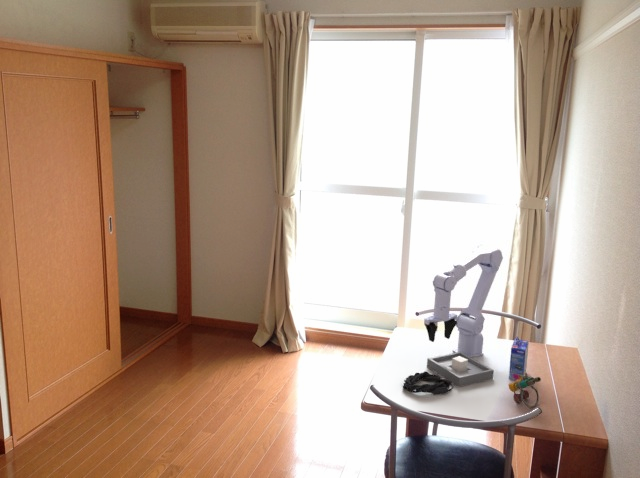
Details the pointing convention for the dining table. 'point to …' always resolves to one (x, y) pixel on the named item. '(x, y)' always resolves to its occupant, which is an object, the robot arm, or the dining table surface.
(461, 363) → the white rectangular block
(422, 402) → the dining table surface
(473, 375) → the walled box
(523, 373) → the ink cartridge box
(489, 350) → the dining table surface
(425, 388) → the cable
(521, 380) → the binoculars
